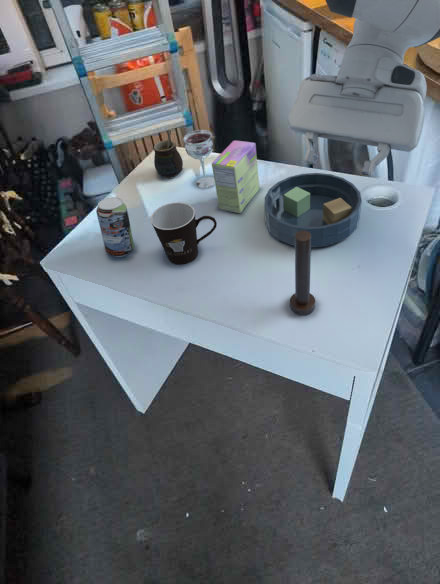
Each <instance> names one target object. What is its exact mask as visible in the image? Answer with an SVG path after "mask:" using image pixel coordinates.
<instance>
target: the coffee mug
mask: <svg viewBox="0 0 440 584" xmlns="http://www.w3.org/2000/svg"><path fill="white" fill-rule="evenodd" d="M196 218H197V217H196V210H195V208H194V206H193V205H191V204H189V203H187V202H181V201H177V202H175V201H174V202H170V203H166V204H163V205H161V206H159V207H158V208H157V209H155V210H154V211H153V213H152V214H151V215H150V223H151V225H152V228H153V230H154V231H155V234H156V236H157V239H158V240H159V243H160V245H161V246H162V249H163V252H164V253H165V255H166V257H167V259H168V262H169V263H170V264H173V265H176V266H184V265H188V264H191V263H192V262H193V261H195V260H196V259H197V257H198V255H199V249H198V248H199V247H198V245H199V244H200V242H202V241H203V240H205V239H206V238H207V237H209V236H210V235H211V234H212V233H213V232H214V231H215V230H216V229H217V224H218V223H217V219H216V218H215V217H213V216H210V215H203V216H201V217H199V218H197V219H196ZM203 220H210V221H212V222H213V226H212V227H211V229H210V230H209V231H207V232H206V233H204V235H202V236H201V237H200V238H198V234H197V228H198V226H199V224H200V223H201V221H203Z"/></svg>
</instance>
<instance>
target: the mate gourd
mask: <svg viewBox="0 0 440 584" xmlns="http://www.w3.org/2000/svg"><path fill="white" fill-rule="evenodd" d="M167 131H168V134H167V140H161V141H158V142H157V143H155V144H154V146H153V147H152V148H153V152H154V157H153V160H154V161H153V164H154V165H153V166H154V168H155V171H156V172H157V173H158V175H159V176H160V177H161V178H165V179H173V178H175V177H177V176H178V175H179V174H180V173H181V172H182V171H183V169H184V168H183V166H184V161H183V158H182V155H181V154H180V152H179V150H178V148H177V145H176V142H174V141H173V140H171V134H172V130H169V129H168V130H167Z"/></svg>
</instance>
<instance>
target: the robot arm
mask: <svg viewBox="0 0 440 584" xmlns="http://www.w3.org/2000/svg"><path fill="white" fill-rule="evenodd" d="M324 2H325V4H326V5H327V7H328V10H329V11H330V12H331V13H333V14H337V15H340V16H343V17H347V18H350V19H351V18H353V19H354V22H353V33H352V37H351V40H350V41H349V43H348V45H347V46H346V48H345V50H344V53H343V57H342V59H341V63H340V66H339V68H338V72H337V75H331V74H330V75H329V74H328V75H324V74H323V75H322V74H320V73H319V74H318V73H313V74H312V73H311V75H310V76H307V77H305V78H304V79H302V80H301V82H300V84H299V87H298V90H297V94H296V98H295V100H294V102H293V103H292V106H291V109H290V111H289V114H288V116H287V117H288V118H287V124H288V126H289V129H291V131H293V133H294V134H298V135H304V136H303V140H304V146H305V150H306V152H305V155H304V158H303V162H304V163H305V164H308V165H313V166H315V165H316V164H317V160H318V158H319V154H318V153H317V152H316V151H315V150H314V146H313V144H316V143H317V140H318V138H320V139H321V138H322V139H326V140H327V139H328V140H334V141H338V142H339V141H340V142H346V143H352V144H357V145H358V144H359V145H364V146H368V147H369V146H370V147H375V148H376V151H377V152H378V153H377V154H376V155H375V156H374V157H373V158H372V159H371V160H364V162H363V167H362V168H361V174H362V175H364V176H368V177H374V174H375V171H376V168H377V166H379V165H380V164H381V163H382V162H383V161H384V160H385V159H386V158H388V156H389V155H390V154H389V153H390V150H394V151H400V152H406V153H410V152H412V151H413V150H415V149H416V148H417V147H418V145H419V143H420V142H419V141H420V139H421V135H422V132H423V127H424V122H425V106H424V101H425V99H426V97H427V91H428V89H427V87H428V85H427V80H426V78H425V76H424V73H423V72H421V71H420V70H417V69H415V68H412V67H410V66H408V65H406V64H404V60H405V59H404V58H405V54H406V52H407V51H408V50H409V49H410V48H419V47H422V46H424V45H426V44H428V43H432V42H433V41H435V40H437V39H439V38H440V0H324Z"/></svg>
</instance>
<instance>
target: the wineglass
mask: <svg viewBox="0 0 440 584" xmlns="http://www.w3.org/2000/svg"><path fill="white" fill-rule="evenodd" d="M212 136H213V133H212V132H211V131H209V130H206V129H196V130H192V131H190V132H188V133H186V134H185V135H184V136H183V139H182V141H183V143H184V150H185V152H186V154H187V155H188V156H189V157H191V158H193V159H194V160H198V161H200V165H201V170H202V174H203V176H202V177H200V178H198V179H197V180H196V181H195V185H196V186H197V188H201V189H206V188H207V189H208V188H210V187H212V186H215V181H214V176H213V177H212V176H207V175H206V169H205V162H204V160H205V159H207V157H209V156H210V155H211V153H212V152H213V151H214V140H213V138H212Z"/></svg>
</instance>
